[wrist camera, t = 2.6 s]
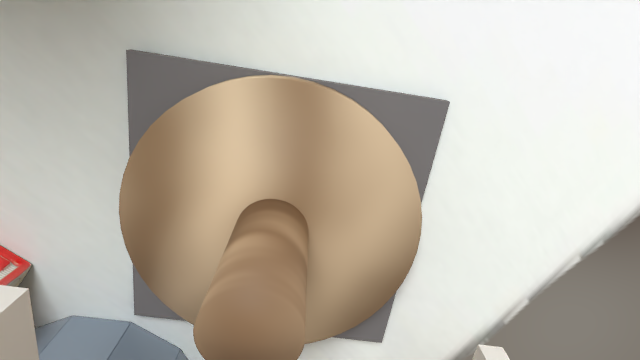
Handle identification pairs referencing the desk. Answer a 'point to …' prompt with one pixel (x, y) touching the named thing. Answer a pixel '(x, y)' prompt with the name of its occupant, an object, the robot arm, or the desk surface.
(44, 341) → the bowl
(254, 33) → the desk surface
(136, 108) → the mat
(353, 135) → the lid
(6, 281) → the stack of blocks
